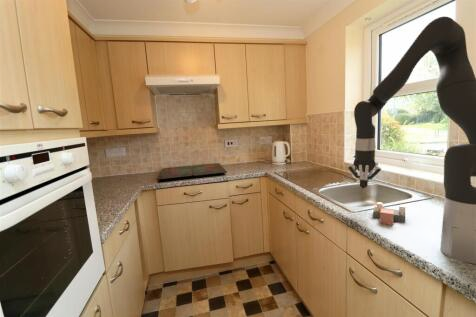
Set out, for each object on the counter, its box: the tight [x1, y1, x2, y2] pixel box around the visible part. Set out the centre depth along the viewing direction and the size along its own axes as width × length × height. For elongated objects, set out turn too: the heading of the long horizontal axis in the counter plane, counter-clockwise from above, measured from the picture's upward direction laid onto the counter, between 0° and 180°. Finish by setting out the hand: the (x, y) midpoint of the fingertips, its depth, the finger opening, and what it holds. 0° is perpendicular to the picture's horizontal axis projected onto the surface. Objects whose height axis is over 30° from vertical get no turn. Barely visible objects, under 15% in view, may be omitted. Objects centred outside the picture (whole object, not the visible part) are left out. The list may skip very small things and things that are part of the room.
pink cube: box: [379, 208, 395, 226], centre depth 94 cm, size 4×4×4 cm
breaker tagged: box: [376, 201, 384, 210], centre depth 100 cm, size 2×2×2 cm
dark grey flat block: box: [372, 206, 406, 223], centre depth 98 cm, size 6×11×3 cm, turn 55°
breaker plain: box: [398, 204, 406, 214], centre depth 95 cm, size 2×2×2 cm
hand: (363, 187), depth 103 cm, fingers closed
